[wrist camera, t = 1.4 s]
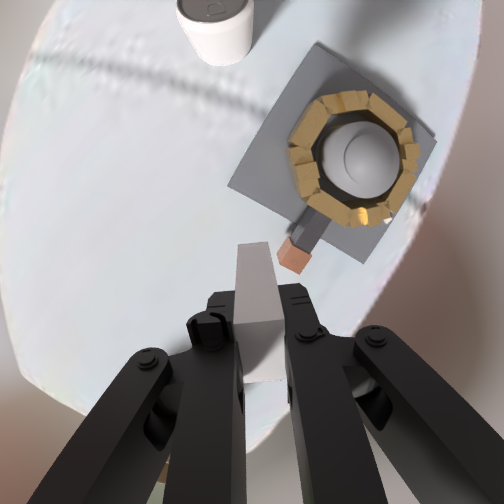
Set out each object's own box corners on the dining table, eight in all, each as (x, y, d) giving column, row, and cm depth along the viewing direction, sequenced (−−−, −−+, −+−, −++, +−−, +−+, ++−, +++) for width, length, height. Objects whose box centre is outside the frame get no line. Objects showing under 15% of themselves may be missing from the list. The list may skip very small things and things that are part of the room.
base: (311, 47, 25) (330, 22, 17) (431, 141, 29) (469, 145, 21) (227, 184, 31) (222, 197, 24) (360, 260, 35) (385, 289, 28)
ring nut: (327, 74, 24) (339, 64, 20) (417, 145, 27) (438, 147, 23) (233, 230, 31) (231, 244, 27) (331, 281, 34) (341, 300, 30)
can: (246, 18, 23) (246, -35, 12) (256, 61, 26) (262, 19, 14) (192, 29, 23) (167, -19, 12) (200, 72, 26) (176, 36, 15)
